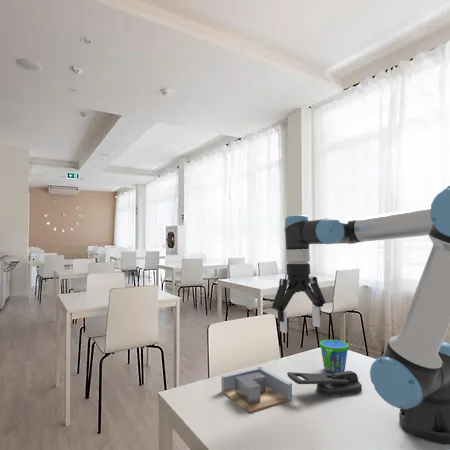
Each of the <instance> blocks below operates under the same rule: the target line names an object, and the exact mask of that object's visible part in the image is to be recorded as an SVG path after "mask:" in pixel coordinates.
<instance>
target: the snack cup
mask: <svg viewBox="0 0 450 450" xmlns="http://www.w3.org/2000/svg"><path fill="white" fill-rule="evenodd" d="M319 348H320V350H321V357H322V362H323V368H324V370H325V371H326V372H328V373H329V374H333V373H337V372H344V371H346V364H347V357H348V352H349V348H350V346H349V343H347V342H345V341H343V340H337V339H324V340H321V341H320V342H319Z"/></svg>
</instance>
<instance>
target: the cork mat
mask: <svg viewBox="0 0 450 450" xmlns="http://www.w3.org/2000/svg"><path fill="white" fill-rule="evenodd" d="M223 394H224V395H226V397H228V398H230V399H231V400H232V401H233V402H235V403H236V404H237V405H239V406H240V408H242V409H243V410H245V411H247V412H248V413H249V414H252V413H254V412H257V411H262V410H264V409H267V408H271V407H274V406H277V405H280V404H283V403H286V402H287V403H288V402H289V401H288V399H287V398H286V397H284V396H283V395H281V394H279V393H278V392H276V391H274V390H273V389H271V388H269V387H268V386H266V392H265V393H261V394H260V402H259V403H255V404H251V405H248V404H247V403H246V402H245V401H244V400H243V399H242V398H240V397H239V396H238V395H237V394H236V393H235V388H234V389H231V390H227V391H224V393H223Z"/></svg>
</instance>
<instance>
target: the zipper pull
mask: <svg viewBox="0 0 450 450" xmlns="http://www.w3.org/2000/svg"><path fill="white" fill-rule="evenodd" d="M286 376H287V377H288V378H289V379H290V380H292V382H294V383H296V384H297V385H316V389H317V392H318V393H319V394H320V395H323V396H325V397H339V396H340V397H341V396H348V395H357V394H360V393H361V392H362V391H363V390H362V387H363V385H362V384H361V382H360V381H359V377H358V374H357V373H355V372H354V371H352V370H348V371H347V370H344V372H337V373H328V374H327V373H325V374H324V373H323V374H322V373H311V372H310V373H309V372H308V373H305V372H291V371H290V372H289V371H288V372H287V374H286Z"/></svg>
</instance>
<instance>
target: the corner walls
mask: <svg viewBox="0 0 450 450" xmlns="http://www.w3.org/2000/svg"><path fill="white" fill-rule="evenodd" d="M254 373H261V374H262V375H264V376H265V384H266V386H268V387H269V388H271V389H273V390H274V391H276V392H278V393H279V394H281V395H283V396H284V397H286V398H287V399H288V401H287V402H289V401H293V390H292V389H293V387H292V386H293V384H292V383H291V382H290V381H288V380H287V379H285V378H282V377H280V376H278V375H277V374H275V373H273V372H272V371H269V370H267V369H266V368H264V367H262V366H257V367H254V368H250V369H245V370H241V371H238V372H233V373H232V372H231V373H229V374H224V375H221V392H222V393H223V394H224V391H227V390H231V389H234V388H235V377H239V376H244V375H249V374H254Z"/></svg>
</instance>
